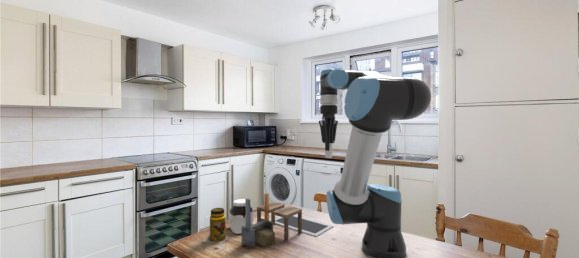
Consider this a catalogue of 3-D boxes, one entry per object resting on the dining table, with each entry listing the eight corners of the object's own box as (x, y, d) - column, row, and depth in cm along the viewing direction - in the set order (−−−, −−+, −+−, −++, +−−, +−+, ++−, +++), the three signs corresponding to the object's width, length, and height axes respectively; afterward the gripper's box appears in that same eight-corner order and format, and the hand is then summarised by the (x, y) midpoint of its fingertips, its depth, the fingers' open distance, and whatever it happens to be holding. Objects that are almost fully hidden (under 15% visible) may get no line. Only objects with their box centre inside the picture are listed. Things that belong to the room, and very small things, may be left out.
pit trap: (333, 226, 120) (333, 225, 120) (316, 236, 110) (316, 235, 110) (288, 214, 137) (288, 213, 137) (269, 221, 126) (269, 221, 126)
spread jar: (248, 222, 126) (247, 197, 126) (259, 230, 117) (259, 203, 117) (223, 227, 120) (223, 201, 119) (233, 236, 110) (233, 208, 110)
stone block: (265, 248, 100) (265, 235, 100) (245, 239, 108) (245, 227, 108) (276, 243, 105) (276, 230, 105) (256, 235, 112) (256, 223, 112)
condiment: (222, 243, 104) (222, 212, 104) (201, 242, 105) (201, 211, 105) (229, 235, 111) (229, 206, 111) (210, 234, 112) (209, 205, 112)
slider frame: (273, 237, 108) (273, 194, 107) (252, 247, 99) (252, 201, 99) (262, 233, 111) (262, 192, 111) (241, 242, 103) (241, 198, 102)
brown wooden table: (301, 233, 114) (301, 208, 113) (286, 241, 106) (286, 215, 106) (273, 223, 124) (272, 201, 124) (257, 230, 116) (257, 207, 116)
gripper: (329, 105, 129) (328, 155, 129) (313, 104, 119) (313, 158, 119) (343, 105, 124) (343, 156, 125) (328, 104, 114) (328, 160, 115)
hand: (328, 157), depth 122 cm, fingers closed
